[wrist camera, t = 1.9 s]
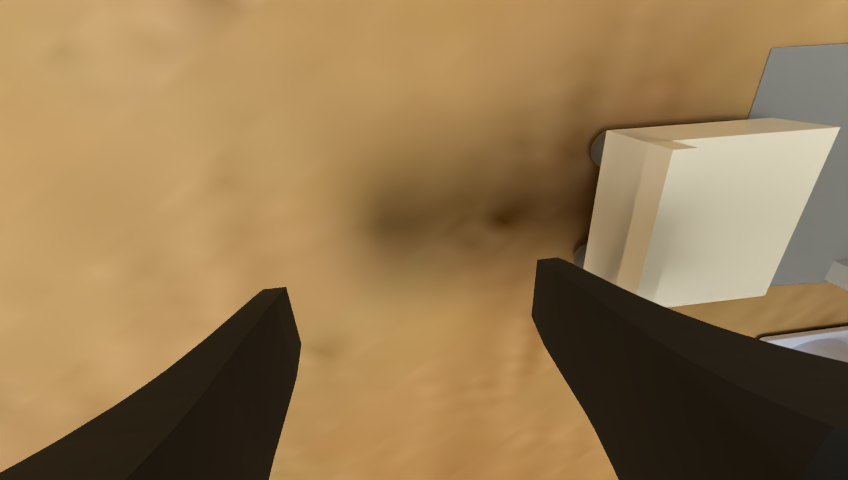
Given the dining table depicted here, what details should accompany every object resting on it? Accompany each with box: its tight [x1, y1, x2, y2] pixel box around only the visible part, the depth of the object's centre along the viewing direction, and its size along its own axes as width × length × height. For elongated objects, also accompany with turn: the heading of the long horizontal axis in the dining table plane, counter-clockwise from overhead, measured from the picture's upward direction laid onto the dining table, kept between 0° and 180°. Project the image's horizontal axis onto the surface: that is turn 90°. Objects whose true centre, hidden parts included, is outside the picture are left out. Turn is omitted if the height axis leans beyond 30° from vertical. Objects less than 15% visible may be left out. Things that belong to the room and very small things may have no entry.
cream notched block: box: [574, 118, 840, 308], centre depth 15 cm, size 7×7×5 cm
